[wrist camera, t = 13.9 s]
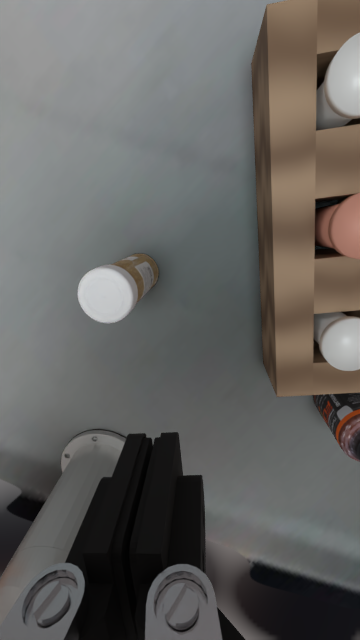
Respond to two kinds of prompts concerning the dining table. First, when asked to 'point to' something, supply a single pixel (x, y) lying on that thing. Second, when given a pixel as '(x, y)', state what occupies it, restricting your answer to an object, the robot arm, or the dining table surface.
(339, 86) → the grey plug
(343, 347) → the grey plug
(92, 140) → the dining table surface
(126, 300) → the sprinkles bottle
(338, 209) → the brick plug
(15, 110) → the dining table surface
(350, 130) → the socket board
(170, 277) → the dining table surface
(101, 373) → the dining table surface
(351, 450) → the supplement bottle
